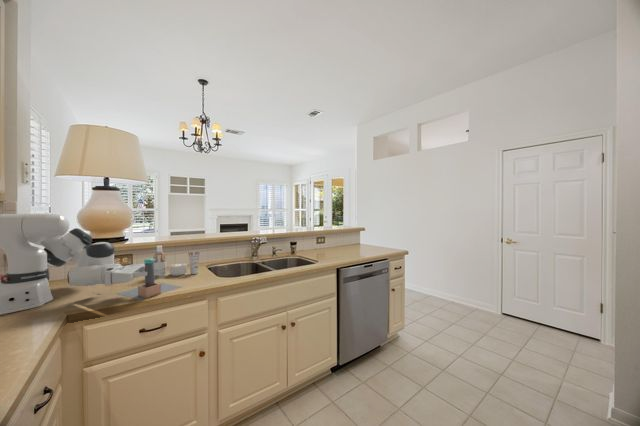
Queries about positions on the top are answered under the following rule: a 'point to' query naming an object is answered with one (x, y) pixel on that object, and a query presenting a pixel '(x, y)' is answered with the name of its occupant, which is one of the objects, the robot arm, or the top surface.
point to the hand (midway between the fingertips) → (150, 270)
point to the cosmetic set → (174, 268)
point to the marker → (149, 272)
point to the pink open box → (149, 290)
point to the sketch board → (164, 288)
